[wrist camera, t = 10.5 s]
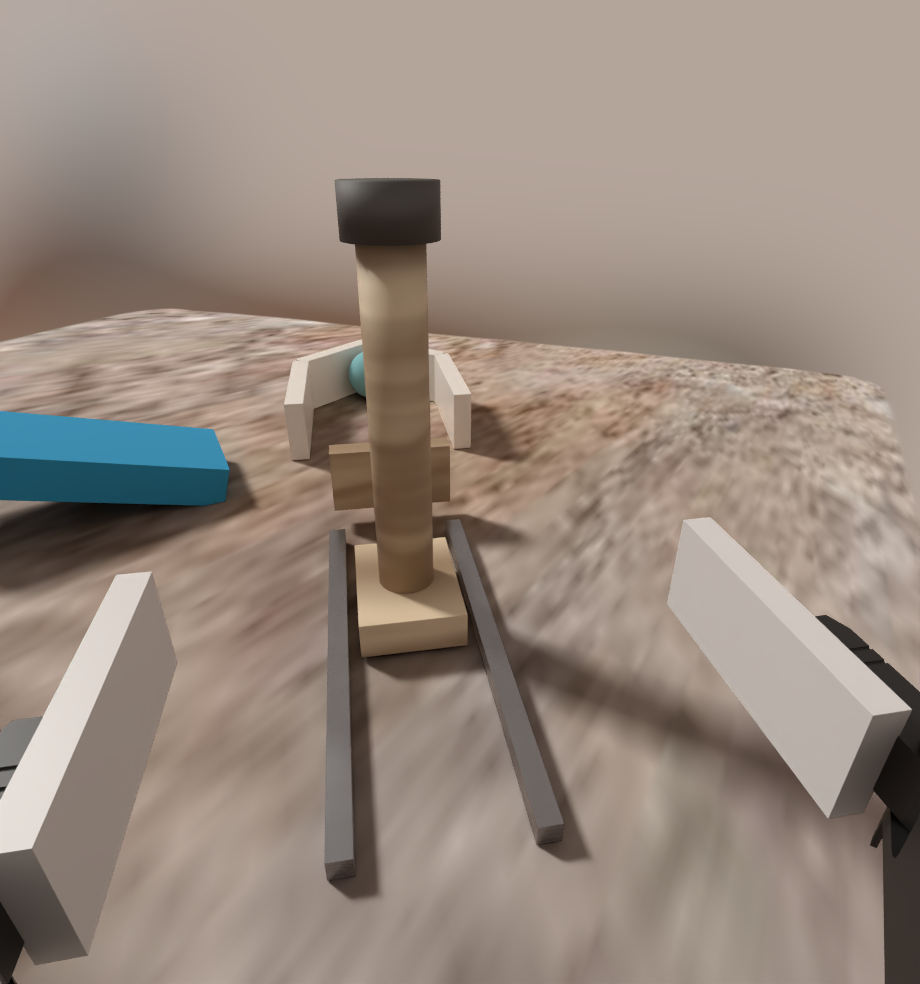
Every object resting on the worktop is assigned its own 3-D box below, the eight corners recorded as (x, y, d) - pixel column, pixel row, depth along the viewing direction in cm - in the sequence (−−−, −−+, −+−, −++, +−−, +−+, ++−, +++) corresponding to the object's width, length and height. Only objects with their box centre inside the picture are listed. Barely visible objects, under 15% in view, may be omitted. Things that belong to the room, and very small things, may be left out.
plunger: (490, 642, 27) (505, 182, 18) (336, 660, 26) (279, 184, 17) (446, 504, 37) (443, 172, 29) (336, 514, 36) (300, 173, 28)
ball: (336, 359, 51) (340, 391, 54) (374, 383, 50) (375, 415, 53) (369, 332, 53) (370, 366, 56) (406, 355, 52) (405, 388, 55)
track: (562, 840, 19) (564, 823, 19) (327, 880, 18) (324, 864, 18) (459, 531, 35) (460, 519, 34) (331, 543, 34) (329, 530, 33)
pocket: (470, 447, 45) (471, 393, 43) (291, 460, 43) (284, 404, 41) (438, 378, 58) (438, 335, 57) (302, 385, 57) (296, 341, 55)
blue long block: (202, 521, 45) (-137, 516, 36) (213, 429, 42) (-147, 398, 33) (216, 571, 39) (-179, 581, 30) (229, 469, 37) (-195, 446, 28)
